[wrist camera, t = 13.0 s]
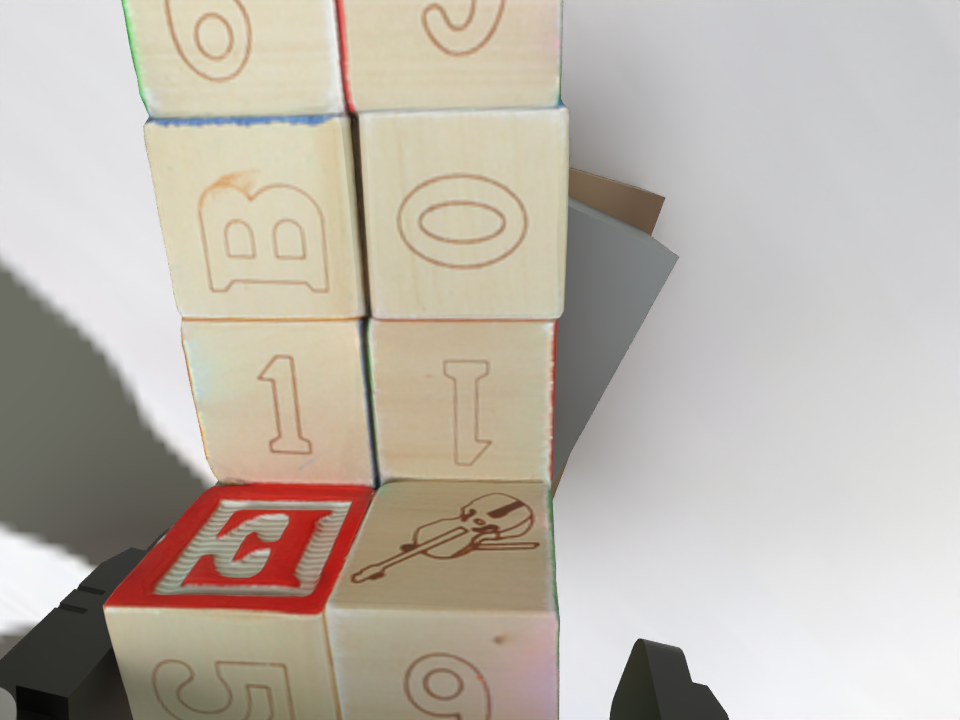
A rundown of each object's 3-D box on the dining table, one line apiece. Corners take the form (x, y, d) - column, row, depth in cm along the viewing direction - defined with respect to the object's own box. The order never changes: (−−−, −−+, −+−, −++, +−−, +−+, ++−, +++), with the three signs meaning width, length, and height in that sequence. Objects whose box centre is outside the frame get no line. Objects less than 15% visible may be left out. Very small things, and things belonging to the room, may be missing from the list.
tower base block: (639, 188, 29) (665, 197, 23) (537, 474, 34) (538, 538, 29) (414, 121, 29) (385, 114, 23) (347, 419, 34) (310, 473, 28)
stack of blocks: (320, 7, 17) (-167, -326, 5) (554, 0, 16) (625, -384, 4) (375, 639, 24) (226, 1120, 12) (539, 647, 23) (551, 1154, 11)
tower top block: (643, 230, 24) (678, 256, 18) (495, 511, 28) (487, 603, 23) (428, 131, 23) (395, 126, 17) (313, 435, 28) (258, 508, 22)
